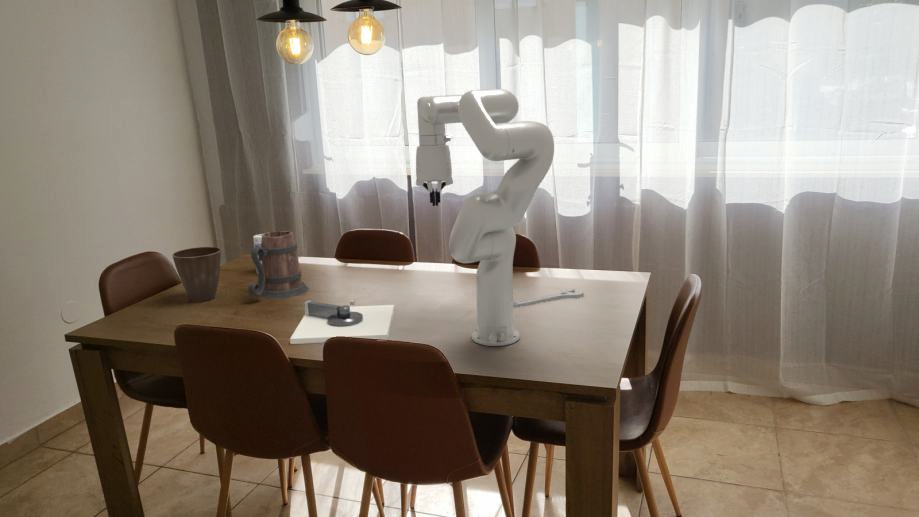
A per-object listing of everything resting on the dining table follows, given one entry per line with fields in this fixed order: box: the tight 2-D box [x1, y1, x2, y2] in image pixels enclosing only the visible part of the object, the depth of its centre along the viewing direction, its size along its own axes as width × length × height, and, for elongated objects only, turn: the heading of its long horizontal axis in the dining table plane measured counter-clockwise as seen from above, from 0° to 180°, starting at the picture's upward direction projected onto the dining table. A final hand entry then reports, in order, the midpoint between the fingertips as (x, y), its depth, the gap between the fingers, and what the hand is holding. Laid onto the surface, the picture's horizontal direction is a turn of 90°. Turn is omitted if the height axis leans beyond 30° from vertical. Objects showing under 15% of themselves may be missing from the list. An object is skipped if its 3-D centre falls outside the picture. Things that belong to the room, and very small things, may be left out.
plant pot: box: [171, 246, 222, 303], centre depth 230 cm, size 15×15×16 cm
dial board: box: [289, 298, 396, 345], centre depth 203 cm, size 30×26×2 cm
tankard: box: [247, 230, 310, 300], centre depth 232 cm, size 24×17×20 cm
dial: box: [303, 300, 363, 326], centre depth 202 cm, size 19×10×4 cm, turn 60°
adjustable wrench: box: [513, 288, 585, 308], centre depth 217 cm, size 25×6×2 cm, turn 110°
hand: (435, 205), depth 203 cm, fingers closed
